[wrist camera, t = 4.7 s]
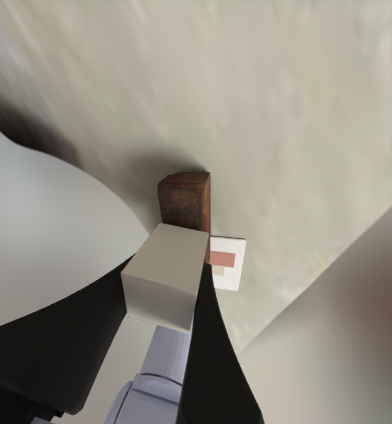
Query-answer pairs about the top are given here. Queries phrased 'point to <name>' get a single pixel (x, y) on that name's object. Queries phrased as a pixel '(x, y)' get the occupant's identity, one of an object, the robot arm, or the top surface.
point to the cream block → (165, 277)
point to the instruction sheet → (226, 261)
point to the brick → (187, 202)
